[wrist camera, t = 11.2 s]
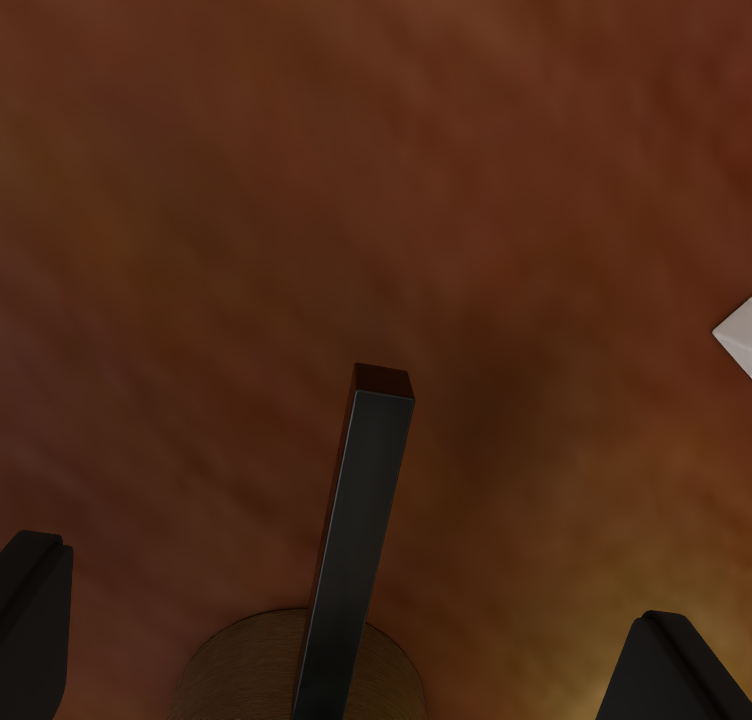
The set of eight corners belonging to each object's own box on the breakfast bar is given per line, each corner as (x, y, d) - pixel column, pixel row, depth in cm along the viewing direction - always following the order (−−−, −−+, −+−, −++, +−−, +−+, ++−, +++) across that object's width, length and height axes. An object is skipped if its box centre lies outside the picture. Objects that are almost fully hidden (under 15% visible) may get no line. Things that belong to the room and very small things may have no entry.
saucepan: (217, 305, 20) (123, 403, 12) (527, 360, 21) (644, 487, 13) (158, 794, 26) (68, 1088, 18) (401, 819, 27) (424, 1109, 19)
